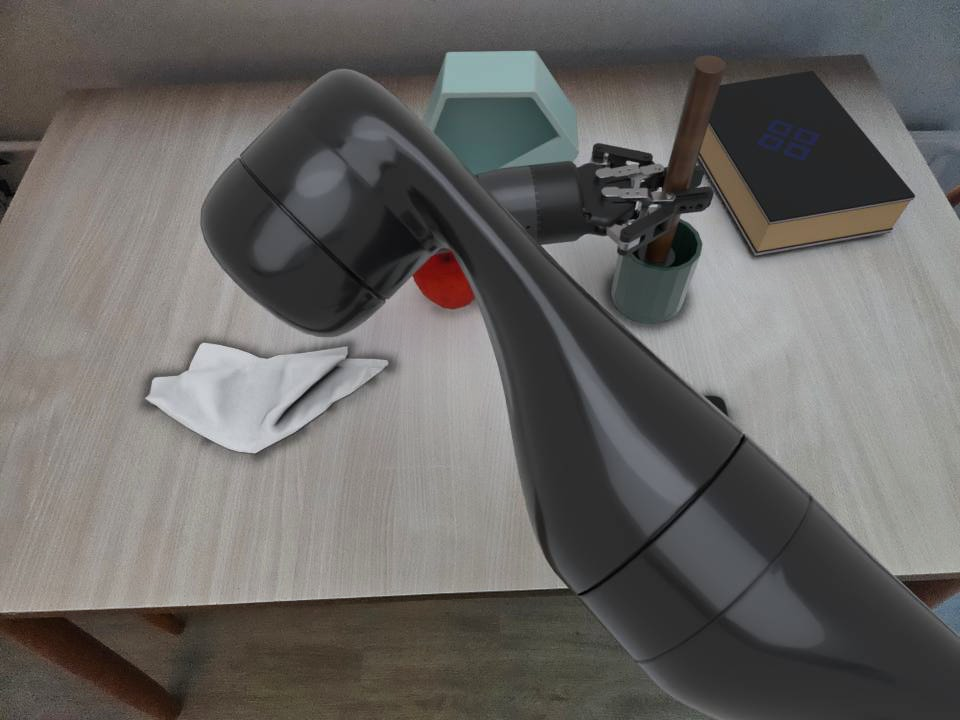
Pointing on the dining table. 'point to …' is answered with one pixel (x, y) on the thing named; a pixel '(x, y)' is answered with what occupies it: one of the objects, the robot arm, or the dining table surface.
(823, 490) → the dining table surface
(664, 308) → the green faceted cup
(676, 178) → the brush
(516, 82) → the planter
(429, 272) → the apple
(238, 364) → the cloth
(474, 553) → the dining table surface
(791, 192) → the book
